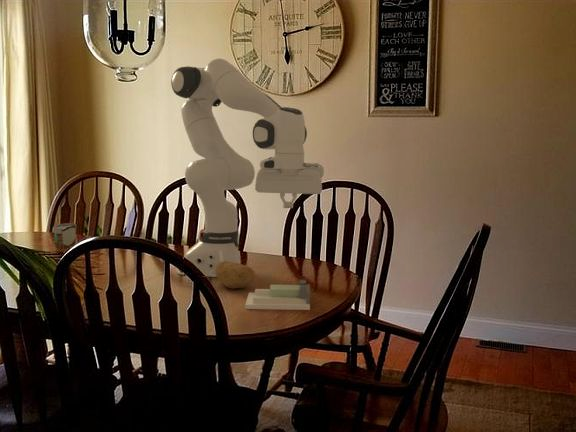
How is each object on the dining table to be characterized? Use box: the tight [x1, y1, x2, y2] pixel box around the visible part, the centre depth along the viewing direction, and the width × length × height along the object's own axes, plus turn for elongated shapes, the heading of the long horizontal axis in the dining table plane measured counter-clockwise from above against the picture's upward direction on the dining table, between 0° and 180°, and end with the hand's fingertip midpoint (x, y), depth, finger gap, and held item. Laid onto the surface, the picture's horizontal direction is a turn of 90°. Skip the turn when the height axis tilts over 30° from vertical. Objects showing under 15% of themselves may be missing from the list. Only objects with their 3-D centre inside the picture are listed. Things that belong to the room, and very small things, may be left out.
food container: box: [52, 222, 77, 249], centre depth 239 cm, size 12×6×10 cm, turn 172°
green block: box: [269, 284, 300, 298], centre depth 175 cm, size 10×5×4 cm, turn 88°
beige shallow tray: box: [245, 279, 311, 311], centre depth 175 cm, size 18×12×6 cm, turn 89°
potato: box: [215, 261, 256, 289], centre depth 190 cm, size 10×14×8 cm
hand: (288, 207), depth 186 cm, fingers closed
